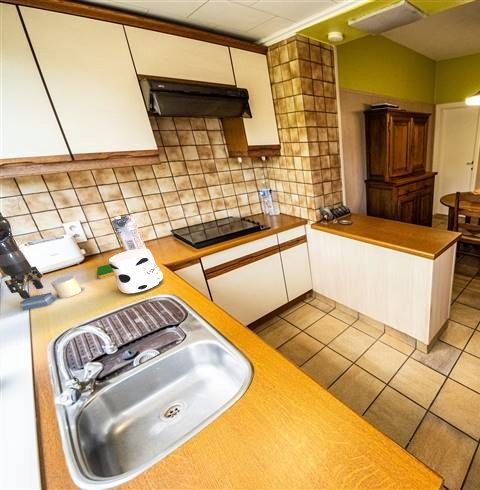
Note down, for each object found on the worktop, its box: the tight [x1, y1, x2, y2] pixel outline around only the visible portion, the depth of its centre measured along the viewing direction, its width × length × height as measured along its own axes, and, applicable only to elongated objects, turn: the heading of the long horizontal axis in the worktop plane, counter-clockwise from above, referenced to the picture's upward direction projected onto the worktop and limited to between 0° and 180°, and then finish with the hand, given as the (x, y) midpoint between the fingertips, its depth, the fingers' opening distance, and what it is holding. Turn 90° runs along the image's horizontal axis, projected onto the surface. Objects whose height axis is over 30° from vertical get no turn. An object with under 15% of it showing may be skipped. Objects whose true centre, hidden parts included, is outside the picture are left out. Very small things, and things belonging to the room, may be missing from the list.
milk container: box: [108, 247, 164, 295], centre depth 128 cm, size 17×17×18 cm
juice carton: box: [111, 215, 147, 252], centre depth 162 cm, size 9×10×27 cm
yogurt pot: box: [50, 275, 82, 299], centre depth 128 cm, size 8×8×8 cm
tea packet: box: [19, 292, 56, 311], centre depth 121 cm, size 8×5×4 cm, turn 112°
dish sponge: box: [96, 263, 115, 280], centre depth 148 cm, size 7×14×2 cm, turn 44°
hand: (33, 293), depth 119 cm, fingers open, 8 cm apart
